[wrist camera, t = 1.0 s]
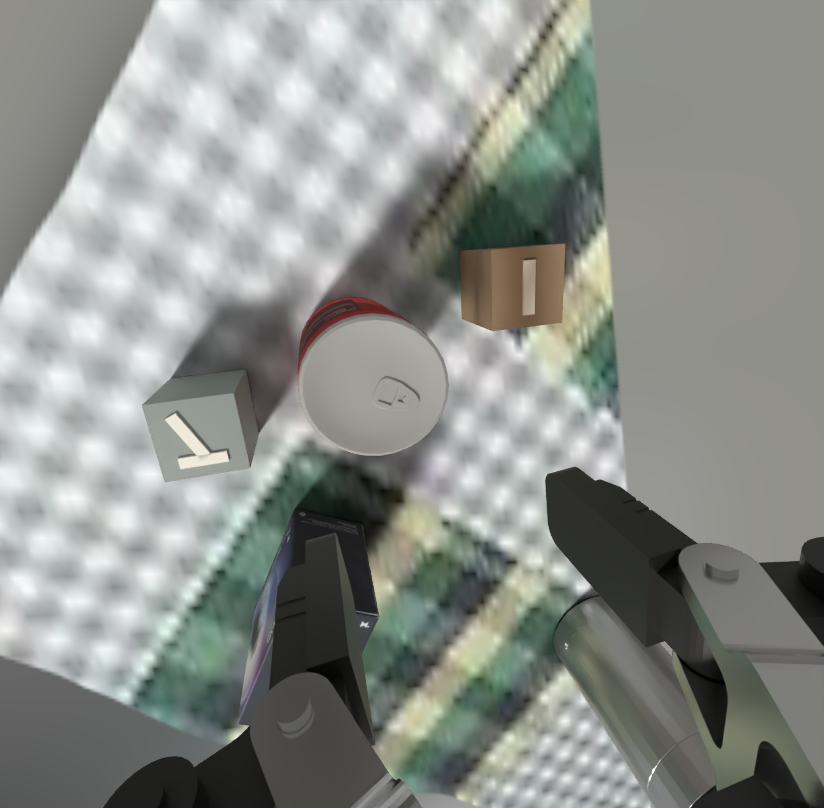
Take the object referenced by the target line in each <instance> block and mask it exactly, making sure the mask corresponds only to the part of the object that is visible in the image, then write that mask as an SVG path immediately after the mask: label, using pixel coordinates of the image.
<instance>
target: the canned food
mask: <svg viewBox="0 0 824 808" xmlns="http://www.w3.org/2000/svg"><path fill="white" fill-rule="evenodd" d="M448 388H449V384H448V373H447V370H446V366H445V363H444V360H443V358H442V356H441V354H440V352H439V351H438V349H437V347H436V346H435V344H434V343H433V342H432V341H431V340H430V339H429V337H428V336H427V335H426V334H425V333H424V332H422V331H421V330H420V329H419V328H417V327H416V326H415V325H413V324H412V323H411V322H409V321H407V320H406V319H404V318H402V317H401V316H399V315H397V314H396V313H394V312H392V311H391V310H389V309H387V308H386V307H384V306H382V305H380V304H378V303H376V302H374V301H371V300H368V299H364V298H355V297H350V298H341V299H338V300H335V301H331V302H329V303H327V304H326V305H324V306H322V307H321V308H319V309H318V310H317V311H316V312H315V313H314V314H313V315H312V316H311V317H310V319H309V320H308V321H307V323H306V325H305V327H304V329H303V331H302V335H301V339H300V348H299V363H298V392H299V397H300V402H301V405H302V408H303V410H304V412H305V414H306V417H307V419H308V421H309V422H310V423H311V425H312V426H313V428H314V429H315V430H316V432H318V433H319V434H320V435H321V436H322V437H323V438H324V439H325V440H326V441H328V442H329V443H331V444H333V445H334V446H336V447H338V448H340V449H342V450H345V451H348V452H350V453H354V454H359V455H365V456H381V455H387V454H393V453H396V452H399V451H401V450H404V449H407V448H408V447H410V446H412V445H414V444H415V443H417V442H419V441H420V440H421V439H422V438H423V437H425V436H426V435H427V434H428V433H429V432H430V431H431V430H432V428H433V427H434V426H435V425H436V424H437V422H438V420H439V418H440V416H441V415H442V413H443V411H444V408H445V404H446V401H447V396H448Z"/></svg>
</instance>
